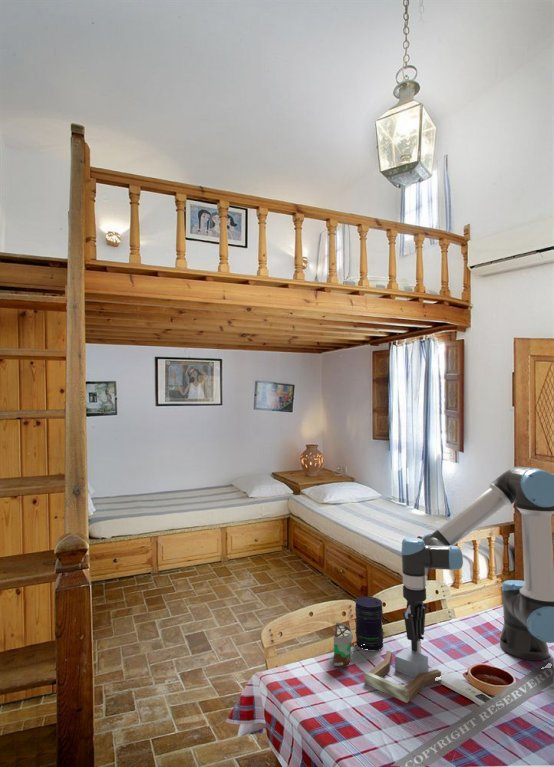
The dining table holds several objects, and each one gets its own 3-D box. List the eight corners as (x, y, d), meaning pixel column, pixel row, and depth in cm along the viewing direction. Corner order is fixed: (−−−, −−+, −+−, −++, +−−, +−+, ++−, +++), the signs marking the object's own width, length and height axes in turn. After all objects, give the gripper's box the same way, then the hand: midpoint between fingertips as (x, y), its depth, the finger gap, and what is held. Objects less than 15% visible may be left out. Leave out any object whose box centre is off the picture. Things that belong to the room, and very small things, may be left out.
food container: (353, 672, 140) (352, 639, 141) (334, 670, 141) (333, 637, 142) (354, 653, 152) (353, 623, 153) (336, 651, 153) (336, 621, 154)
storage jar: (353, 648, 156) (352, 604, 157) (358, 636, 165) (357, 594, 166) (381, 653, 152) (380, 608, 153) (385, 640, 161) (384, 598, 162)
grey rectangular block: (428, 671, 141) (427, 656, 141) (418, 680, 136) (418, 665, 136) (405, 662, 146) (405, 648, 147) (395, 670, 141) (394, 655, 142)
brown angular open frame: (441, 679, 136) (441, 669, 136) (414, 706, 123) (414, 695, 123) (387, 657, 149) (387, 648, 149) (357, 680, 135) (357, 670, 136)
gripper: (412, 578, 154) (415, 648, 152) (394, 588, 145) (396, 663, 142) (433, 584, 149) (435, 656, 147) (415, 594, 140) (418, 672, 137)
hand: (416, 659), depth 145 cm, fingers closed
